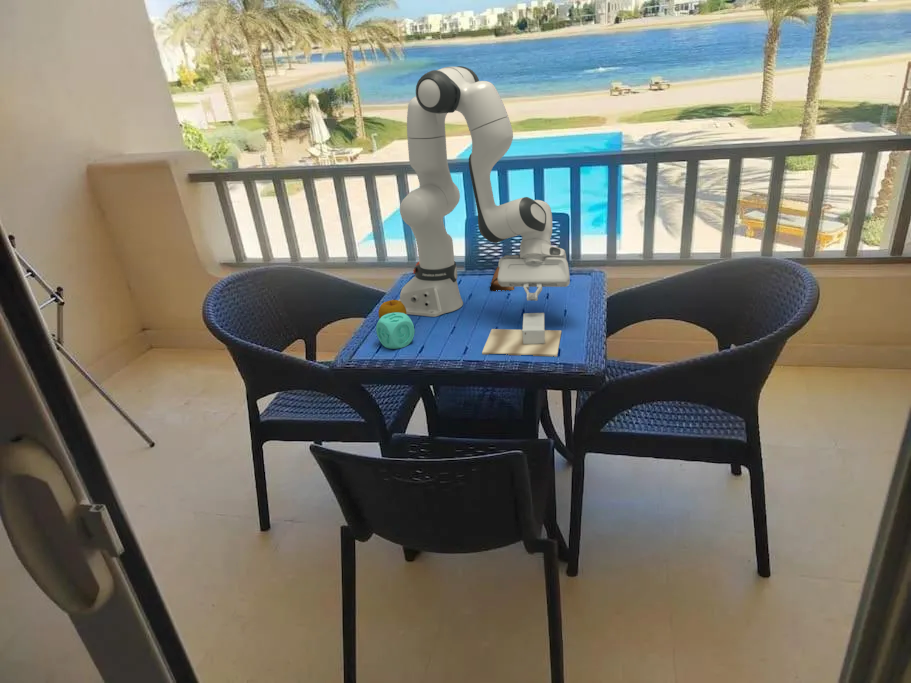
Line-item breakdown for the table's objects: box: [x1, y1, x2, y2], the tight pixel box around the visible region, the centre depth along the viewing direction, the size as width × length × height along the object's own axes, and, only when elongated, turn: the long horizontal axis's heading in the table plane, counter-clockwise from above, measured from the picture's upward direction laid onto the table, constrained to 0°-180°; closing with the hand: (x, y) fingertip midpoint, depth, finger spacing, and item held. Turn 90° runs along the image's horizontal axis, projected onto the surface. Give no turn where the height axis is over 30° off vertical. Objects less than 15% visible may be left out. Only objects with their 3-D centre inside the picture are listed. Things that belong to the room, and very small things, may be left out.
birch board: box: [481, 328, 562, 358], centre depth 169 cm, size 20×15×1 cm
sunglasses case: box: [489, 266, 515, 292], centre depth 214 cm, size 18×7×7 cm
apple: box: [377, 299, 407, 320], centre depth 184 cm, size 9×8×9 cm
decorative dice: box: [375, 312, 416, 350], centre depth 174 cm, size 8×8×8 cm
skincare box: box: [521, 312, 546, 344], centre depth 171 cm, size 6×4×12 cm
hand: (532, 299), depth 171 cm, fingers closed
